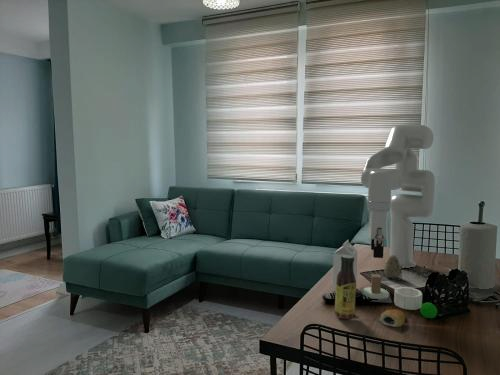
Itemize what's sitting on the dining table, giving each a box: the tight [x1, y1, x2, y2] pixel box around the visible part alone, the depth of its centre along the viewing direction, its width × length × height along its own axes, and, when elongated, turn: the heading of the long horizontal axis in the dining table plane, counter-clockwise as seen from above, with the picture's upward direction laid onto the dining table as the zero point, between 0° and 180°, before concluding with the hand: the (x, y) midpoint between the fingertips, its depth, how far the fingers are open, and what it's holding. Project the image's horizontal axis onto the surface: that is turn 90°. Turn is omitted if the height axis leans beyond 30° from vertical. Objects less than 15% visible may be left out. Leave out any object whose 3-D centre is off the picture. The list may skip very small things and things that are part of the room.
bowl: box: [393, 286, 423, 311], centre depth 138 cm, size 8×8×5 cm
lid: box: [363, 273, 390, 300], centre depth 146 cm, size 9×9×7 cm
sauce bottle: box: [334, 255, 357, 320], centre depth 130 cm, size 6×6×20 cm
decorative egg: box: [384, 255, 401, 280], centre depth 162 cm, size 6×6×10 cm
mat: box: [359, 287, 393, 304], centre depth 146 cm, size 12×10×1 cm
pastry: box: [378, 308, 406, 328], centre depth 127 cm, size 9×7×4 cm
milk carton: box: [332, 239, 358, 293], centre depth 150 cm, size 7×7×19 cm
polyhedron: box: [419, 302, 438, 319], centre depth 129 cm, size 5×5×5 cm
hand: (376, 253), depth 144 cm, fingers open, 9 cm apart
